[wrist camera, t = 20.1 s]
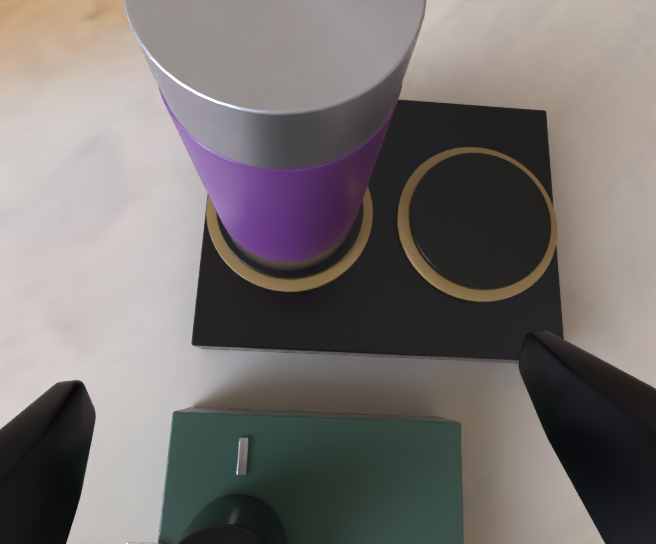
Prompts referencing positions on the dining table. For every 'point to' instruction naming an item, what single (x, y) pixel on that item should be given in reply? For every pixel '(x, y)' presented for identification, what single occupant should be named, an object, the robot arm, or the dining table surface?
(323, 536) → the control box
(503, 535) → the dining table surface
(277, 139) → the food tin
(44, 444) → the robot arm
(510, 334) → the hob
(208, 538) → the hob knob
